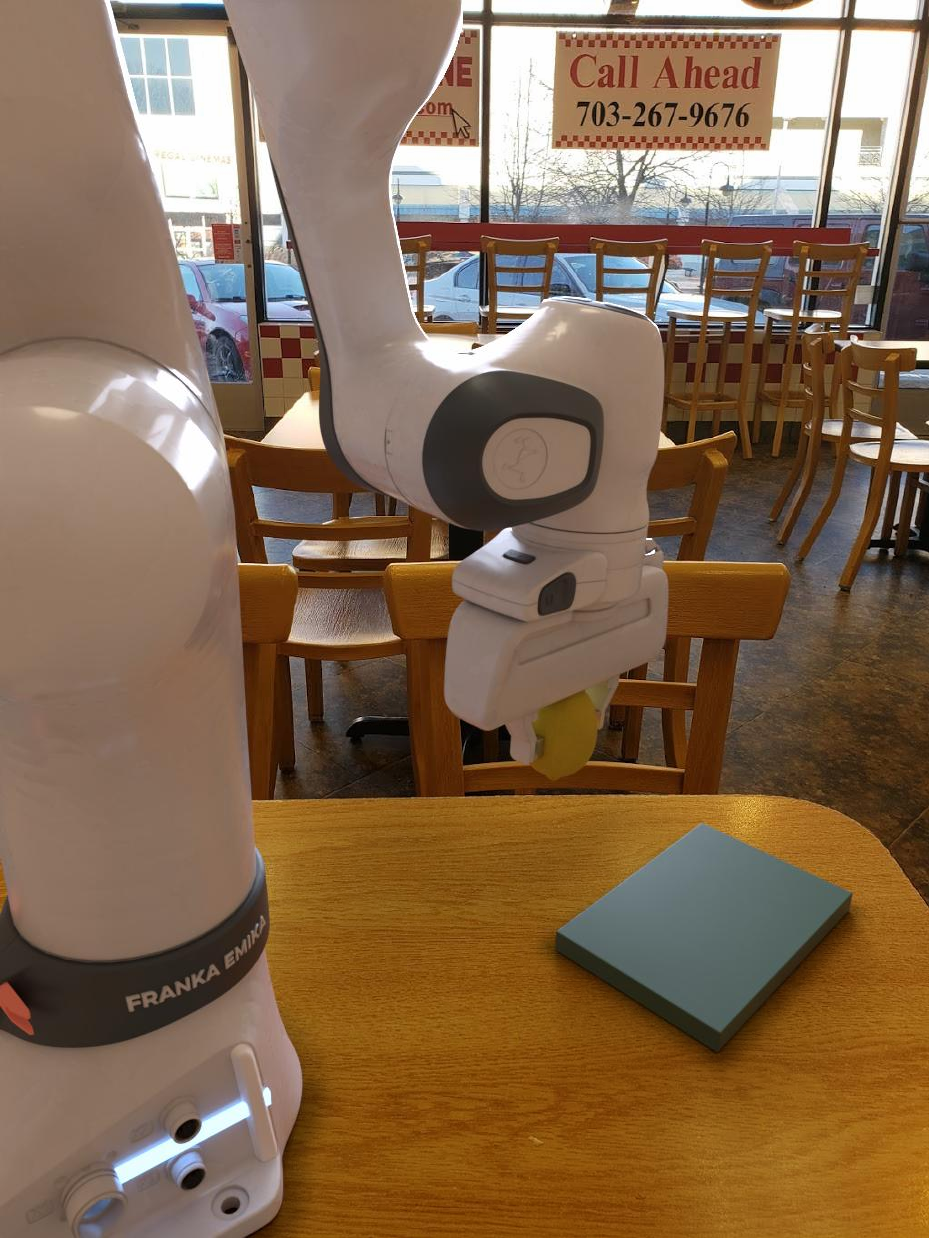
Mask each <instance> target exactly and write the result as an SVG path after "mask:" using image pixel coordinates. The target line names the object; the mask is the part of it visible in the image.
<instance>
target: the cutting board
mask: <svg viewBox="0 0 929 1238" xmlns="http://www.w3.org/2000/svg"><path fill="white" fill-rule="evenodd" d="M852 898H853V892H851V891H849V890H847V889H845V888H843V887H840V886H838V885H836V884H834V883H832V882H830V881H828V880H825V879H823V878H821V877H819V876H817V875H815V874H813V873H811V872H808V871H806V870H804V869H802V868H799V867H797V866H795V865H794V864H791V863H789V862H786V860H785V861H784V860H782V859H781V858H778V857H776V856H775V855H772V854H769V853H767V852H765V851H764V850H761V849H759V848H757V847H754V846H752V845H750V844H749V843H746V842H744V841H742V840H740V839H738V838H735V837H733V836H731V835H729V834H727V833H724V832H722V831H720V830H718V829H716V828H714V827H711V826H709V825H708V824H705V823H703V822H701V823H699V824H698V825H697V826H696V827H694V828H693V829H691V830H690V831H689V832H687V833H685V835H683V836H682V837H681V838H679V839H678V840H677V841H676V842H674V843H673V844H671V845H670V846H668V847H667V848H666V849H665V850H663V851H662V852H660V853H659V854H658V855H656V856H655V857H654V858H652V859H651V860H650V861H648V862H647V863H646V864H644V865H643V866H642V867H640V868H639V869H638V870H636V871H635V872H634V873H633V874H631V875H629V876H628V877H627V878H626V879H624V880H623V881H622V882H620V883H619V884H618V885H616V886H615V887H614V888H612V889H611V890H610V891H608V892H606V893H605V894H604V895H603V896H602V897H600V898H599V899H598V900H596V901H595V902H593V903H592V904H591V905H589V906H588V907H587V908H585V909H584V910H583V911H582V912H580V913H579V914H578V915H576V916H574V917H573V918H572V919H571V920H570V921H568V922H567V923H565V924H564V925H563V926H561V927H560V928H559V929H557V930H556V931H555V943H554V950H555V951H557V952H558V953H560V954H561V955H562V956H564V957H566V958H568V959H569V960H571V961H572V962H574V963H575V964H577V965H579V966H580V967H582V968H584V969H585V970H587V971H588V972H590V973H591V974H593V975H594V976H596V977H597V978H599V979H601V980H602V981H603V982H605V983H607V984H609V985H610V986H612V987H613V988H615V989H616V990H618V991H619V992H621V993H622V994H624V995H626V996H627V997H629V998H631V999H632V1000H633V1001H635V1002H637V1003H638V1004H639V1005H641V1006H643V1007H645V1008H646V1009H648V1010H649V1011H651V1012H653V1013H654V1014H655V1015H657V1016H659V1017H660V1018H661V1019H664V1020H665V1021H667V1022H668V1023H670V1024H671V1025H673V1026H675V1027H676V1028H677V1029H679V1030H680V1031H682V1032H684V1033H686V1034H687V1035H689V1036H690V1037H692V1038H693V1039H695V1040H696V1041H698V1042H700V1043H701V1044H702V1045H704V1046H706V1047H708V1048H709V1049H711V1050H712V1051H714V1052H715V1053H719V1052H720V1051H721V1050H722V1049H723V1047H725V1045H726V1044H727V1043H728V1042H729V1041H730V1040H731V1039H732V1038H733V1037H734V1036H735V1034H736V1033H738V1031H739V1030H740V1029H741V1028H742V1027H743V1026H744V1025H745V1024H746V1023H747V1021H748V1020H749V1019H750V1018H751V1017H753V1015H754V1014H755V1013H756V1012H757V1011H758V1010H759V1008H761V1006H762V1005H763V1004H764V1003H765V1002H766V1001H767V1000H768V999H769V998H770V997H771V995H772V994H773V993H774V992H776V990H777V989H778V988H779V987H780V986H781V985H782V984H783V982H784V981H785V980H786V979H788V977H789V976H790V975H791V974H792V973H793V972H794V971H795V969H797V968H798V966H799V965H800V964H801V963H803V961H804V960H805V959H806V958H807V957H808V955H809V954H810V953H811V952H812V951H813V950H814V949H815V948H816V947H817V946H818V945H819V944H820V943H821V942H822V940H823V939H824V938H825V937H826V936H827V935H828V934H829V933H830V932H831V930H832V929H833V928H835V926H836V925H838V923H839V922H840V921H841V920H842V919H843V917H844V916H845V915H846V914H847V913H848V912H849V911H850V908H851V903H852Z"/></svg>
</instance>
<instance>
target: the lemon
mask: <svg viewBox="0 0 929 1238" xmlns="http://www.w3.org/2000/svg"><path fill="white" fill-rule="evenodd" d="M532 726H533V729H534V732H535V734H538V735H540V736H542V737H544V738H545V739H544V747H543V749H542V750H543V756H542V757H541V758H540V759H538V760H536V761H534V762H532V763H530V764H529V766H530V767H531V768H533V769H534V770H535V771H536V772H538V773H540V774H541V775H544V776H545V777H547V778H548V779H549V780H550V781H558V780H559V779H561V778H564V777H569V776H571V775H574V774H576V773H577V772H579V771H580V770H581V769H583V768H584V767H585V766H586V765H587V763H588V762H589V760H590V759H591V757H592V755H593V753H594V751H595V748H596V746H597V745H596V744H597V739H598V730H597V716H596V711H595V707H594V704H593V702H592V700H591V698H590V697H589V695H588V694H587V693H586V692H585V690H583V691H580V692H578V693H576V694H573V695H571V696H569V697H567V698H564V699H562V700H560V701H557V702H555V703H553V704H550V705H548V706H546V707H544V708H541V709H539V711H538V719H537V721H535V722H532Z"/></svg>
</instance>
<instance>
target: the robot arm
mask: <svg viewBox="0 0 929 1238" xmlns="http://www.w3.org/2000/svg"><path fill="white" fill-rule="evenodd" d="M222 2H223V5H224V9H225V12H226V16H227V18H228V21H229V24H230V27H231V30H232V33H233V36H234V39H235V42H236V45H237V49H238V52H239V56H240V58H241V61H242V63H243V66H244V70H245V73H246V76H247V79H248V82H249V85H250V88H251V92H252V95H253V99H254V103H255V106H256V111H257V114H258V119H259V123H260V126H261V129H262V134H263V136H264V141H265V144H266V148H267V152H268V157H269V163H270V166H271V170H272V171H271V172H272V176H273V179H274V184H275V188H276V192H277V196H278V201H279V204H280V207H281V212H282V215H283V218H284V222H285V227H286V229H287V233H288V236H289V241H290V244H291V248H292V251H293V256H294V258H295V262H296V266H297V268H298V274H299V277H300V282H301V284H302V289H303V292H304V295H305V299H306V302H307V303H306V304H307V307H308V310H309V313H310V317H311V321H312V324H313V328H314V332H315V336H316V341H317V347H318V355H319V390H318V391H319V392H318V424H319V431H320V435H321V439H322V443H323V446H324V449H325V451H326V453H327V455H328V457H329V459H330V460H331V462H332V464H333V465H334V466H335V468H336V469H337V470H338V471H339V472H340V474H342V476H344V478H346V479H347V480H348V481H350V482H351V483H352V484H354V485H356V486H357V487H359V488H361V489H363V490H366V491H369V492H373V493H375V494H379V495H383V496H385V497H386V496H387V497H390V498H393V499H396V500H398V501H400V502H402V503H405V504H407V505H408V506H411V507H413V508H414V509H417V510H419V511H421V512H422V513H425V514H428V515H431V516H432V517H436V518H437V519H439V520H442V521H444V522H446V523H448V524H451V525H452V526H453V525H454V526H456V527H459V528H462V529H468V530H472V531H480V532H495V531H500V532H499V533H498V534H497V535H495V537H493V538H492V539H491V540H490V541H488V542H486V544H484V545H482V546H481V547H480V548H479V549H477V550H476V551H474V552H472V554H470V555H469V556H467V557H465V558H464V559H463V560H461V561H460V562H459V563H458V564H457V565H455V567H454V569H453V571H452V576H451V589H452V592H453V594H454V595H456V596H458V597H460V598H461V599H464V600H463V601H462V602H461V603H460V604H459V605H458V606H457V608H456V609H455V611H454V612H453V615H452V617H451V620H450V623H449V627H448V631H447V640H446V649H445V659H444V662H445V663H444V675H443V676H444V678H443V697H444V702H445V704H446V706H447V707H448V709H449V711H450V712H451V713H452V714H453V715H454V716H455V717H456V718H458V719H459V720H461V721H463V722H466V723H467V724H470V725H472V726H474V727H476V728H478V729H479V730H481V731H486V732H487V731H488V732H489V731H492V730H495V729H498V728H500V727H502V726H504V725H505V728H506V730H507V731H508V734H509V735H510V747H509V753H510V757H511V758H512V759H513V760H514V761H515V762H516V761H517V762H518V763H520V764H522V765H524V766H528V765H530V763H532V762H534V761H536V760H538V759H540V758H541V757H542V756H543V750H542V749H543V747H544V739H545V738H544V737H542V736H540V735H538V734H535V732H534V729H533V726H532V722H535V721H537V719H538V711H539V709H541V708H544V707H546V706H548V705H550V704H553V703H555V702H557V701H560V700H562V699H564V698H567V697H569V696H571V695H573V694H576V693H578V692H580V691H583V690H584V691H585V692H586V693H587V694H588V695H589V697H590V698H591V700H592V702H593V704H594V707H595V711H596V716H597V731H599V730H602V729H603V727H604V723H605V716H606V715H605V714H606V710H607V709H608V707H609V704H610V703H611V700H612V699H613V697H614V695H615V693H616V691H617V689H618V687H619V684H620V675H622V674H624V673H627V672H629V671H631V670H633V669H636V668H638V667H640V666H643V665H645V664H647V663H649V662H652V661H654V660H656V659H657V658H658V657H659V656H660V654H661V652H662V650H663V648H664V646H665V643H666V639H667V631H668V616H669V615H668V614H669V579H668V576H667V573H666V572H665V571H664V570H663V568H664V563H665V562H664V561H665V557H664V556H665V554H664V552H663V551H662V550H661V546H659V545H658V544H657V542H656V541H655V540H654V539H653V538H649V537H648V533H649V532H648V530H649V524H650V523H649V522H650V507H649V503H648V496H647V495H648V493H647V491H648V490H647V489H648V483H649V478H650V475H651V471H652V468H653V467H654V466H655V465H654V464H655V462H656V460H657V457H658V453H659V447H660V438H661V432H662V431H661V430H662V422H663V411H664V400H665V399H664V397H665V354H664V347H663V340H662V336H661V333H660V329H659V328H658V326H657V325H656V323H654V322H653V321H652V319H650V318H649V317H648V316H647V315H646V314H644V313H642V312H640V311H637V310H636V309H635V310H634V309H632V308H630V307H626V306H622V305H618V304H615V303H610V302H602V301H596V300H593V299H590V298H584V297H576V296H554V297H550V298H546V299H543V301H542V302H541V303H540V304H539V306H538V308H537V310H536V311H535V312H534V314H532V315H531V316H530V317H529V318H528V319H527V320H525V321H524V322H523V323H522V324H520V325H519V326H518V327H516V328H515V329H513V330H511V331H509V332H507V334H505V335H503V336H502V337H500V338H498V339H496V340H494V341H492V342H490V343H487V344H486V345H483V346H481V347H478V348H475V349H472V350H469V351H468V354H465V353H464V354H463V353H462V354H461V353H456V352H451V351H446V350H442V349H441V348H440V347H438V346H437V344H435V343H434V342H433V341H432V340H431V339H430V338H429V337H428V335H427V334H426V333H425V332H424V330H423V329H422V327H421V326H420V324H419V322H418V320H417V318H416V315H415V312H414V308H413V303H412V299H411V293H410V288H409V283H408V278H407V272H406V268H405V263H404V259H403V254H402V249H401V245H400V239H399V235H398V229H397V225H396V220H395V215H394V210H393V202H392V190H391V189H392V188H391V187H392V186H391V185H392V173H393V167H394V161H395V157H396V154H397V151H398V150H399V149H398V148H399V146H400V144H401V141H402V139H403V138H404V135H405V133H406V131H407V129H408V128H409V126H410V124H411V123H412V121H413V119H414V118H415V116H416V115H417V114H418V112H420V110H421V109H422V107H423V106H424V105H425V104H426V102H427V101H428V100H429V99H430V98H431V96H432V94H433V93H434V92H435V90H436V89H437V87H438V86H439V84H440V82H441V81H442V79H443V78H444V75H445V73H446V71H447V69H448V67H449V65H450V63H451V60H452V58H453V56H454V53H455V51H456V47H457V45H458V41H459V37H460V35H461V31H462V26H463V0H222ZM122 47H123V46H122V43H121V40H120V35H119V31H118V27H117V24H116V20H115V16H114V12H113V8H112V4H111V0H0V863H1V868H2V873H3V878H4V884H5V888H6V894H7V895H6V897H5V899H4V902H3V906H2V908H1V910H0V1238H246V1237H247V1236H249V1235H250V1234H253V1233H255V1232H256V1231H258V1230H260V1229H261V1228H263V1227H265V1226H266V1225H267V1224H269V1223H270V1222H271V1221H272V1220H274V1218H275V1217H276V1216H277V1214H278V1213H279V1211H280V1209H281V1206H282V1203H283V1197H284V1168H283V1156H284V1152H285V1148H286V1145H287V1142H288V1140H289V1137H290V1135H291V1133H292V1130H293V1129H294V1126H295V1123H296V1121H297V1118H298V1114H299V1112H300V1106H301V1102H302V1096H303V1072H302V1071H303V1070H302V1066H301V1061H300V1059H299V1055H298V1053H297V1051H296V1048H295V1047H294V1044H293V1043H292V1041H291V1039H290V1037H289V1035H288V1033H287V1030H286V1028H285V1025H284V1022H283V1019H282V1017H281V1014H280V1010H279V1007H278V1004H277V1000H276V996H275V991H274V988H273V983H272V979H271V975H270V970H269V964H268V958H267V952H266V951H267V950H266V945H267V943H268V939H269V935H270V931H271V930H270V928H271V920H270V904H269V893H268V883H267V876H266V866H265V861H264V858H263V856H262V853H261V851H260V850H259V848H258V847H257V846H256V843H255V827H254V812H253V811H254V810H253V799H252V798H253V797H252V783H251V770H250V769H251V767H250V755H249V741H248V725H247V724H248V723H247V709H246V708H247V707H246V704H247V703H246V689H245V687H246V686H245V667H244V652H243V650H244V649H243V630H242V616H241V615H242V614H241V613H242V612H241V596H240V580H239V578H240V577H239V563H238V559H239V558H238V545H237V544H238V543H237V542H238V541H237V528H236V527H237V526H236V513H235V504H234V498H233V490H232V484H231V482H232V481H231V476H230V467H229V463H228V462H229V461H228V455H227V449H226V441H225V436H224V430H223V426H222V423H221V422H222V421H221V418H220V417H221V416H220V414H219V410H218V406H217V401H216V399H215V395H214V390H213V387H212V383H211V380H210V379H211V378H210V376H209V373H208V369H207V364H206V360H205V357H204V353H203V350H202V346H201V342H200V339H199V335H198V330H197V328H196V327H197V326H196V324H195V319H194V316H193V312H192V307H191V305H190V301H189V298H188V294H187V289H186V286H185V283H184V279H183V274H182V270H181V267H180V263H179V259H178V256H177V252H176V249H175V244H174V241H173V237H172V234H171V230H170V227H169V223H168V219H167V216H166V212H165V207H164V204H163V200H162V197H161V193H160V190H159V186H158V181H157V178H156V174H155V170H154V167H153V163H152V159H151V155H150V152H149V148H148V144H147V140H146V137H145V134H144V133H145V132H144V128H143V126H142V122H141V117H140V113H139V110H138V105H137V102H136V99H135V95H134V90H133V87H132V82H131V78H130V75H129V71H128V67H127V62H126V59H125V55H124V51H123V48H122ZM234 1208H235V1209H237V1210H236V1211H234V1212H233V1213H225V1212H226V1211H228V1210H229V1209H234Z"/></svg>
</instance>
